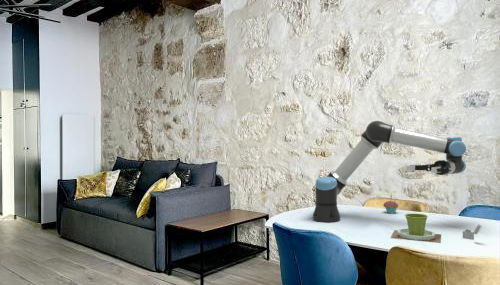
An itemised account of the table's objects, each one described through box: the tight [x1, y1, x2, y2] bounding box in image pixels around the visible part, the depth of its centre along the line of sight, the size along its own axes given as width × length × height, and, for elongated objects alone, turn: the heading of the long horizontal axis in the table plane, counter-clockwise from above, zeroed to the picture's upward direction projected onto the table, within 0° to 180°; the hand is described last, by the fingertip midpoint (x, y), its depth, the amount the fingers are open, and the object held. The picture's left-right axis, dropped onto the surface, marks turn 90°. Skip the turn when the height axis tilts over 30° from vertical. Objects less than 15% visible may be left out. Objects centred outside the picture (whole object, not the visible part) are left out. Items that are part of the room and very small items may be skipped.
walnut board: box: [390, 229, 442, 244], centre depth 172 cm, size 20×16×2 cm
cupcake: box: [383, 194, 399, 214], centre depth 234 cm, size 9×8×12 cm
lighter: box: [462, 224, 483, 240], centre depth 167 cm, size 7×2×8 cm, turn 50°
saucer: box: [397, 228, 436, 242], centre depth 172 cm, size 15×15×2 cm
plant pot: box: [404, 212, 429, 236], centre depth 172 cm, size 9×9×9 cm
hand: (418, 169), depth 187 cm, fingers open, 13 cm apart
